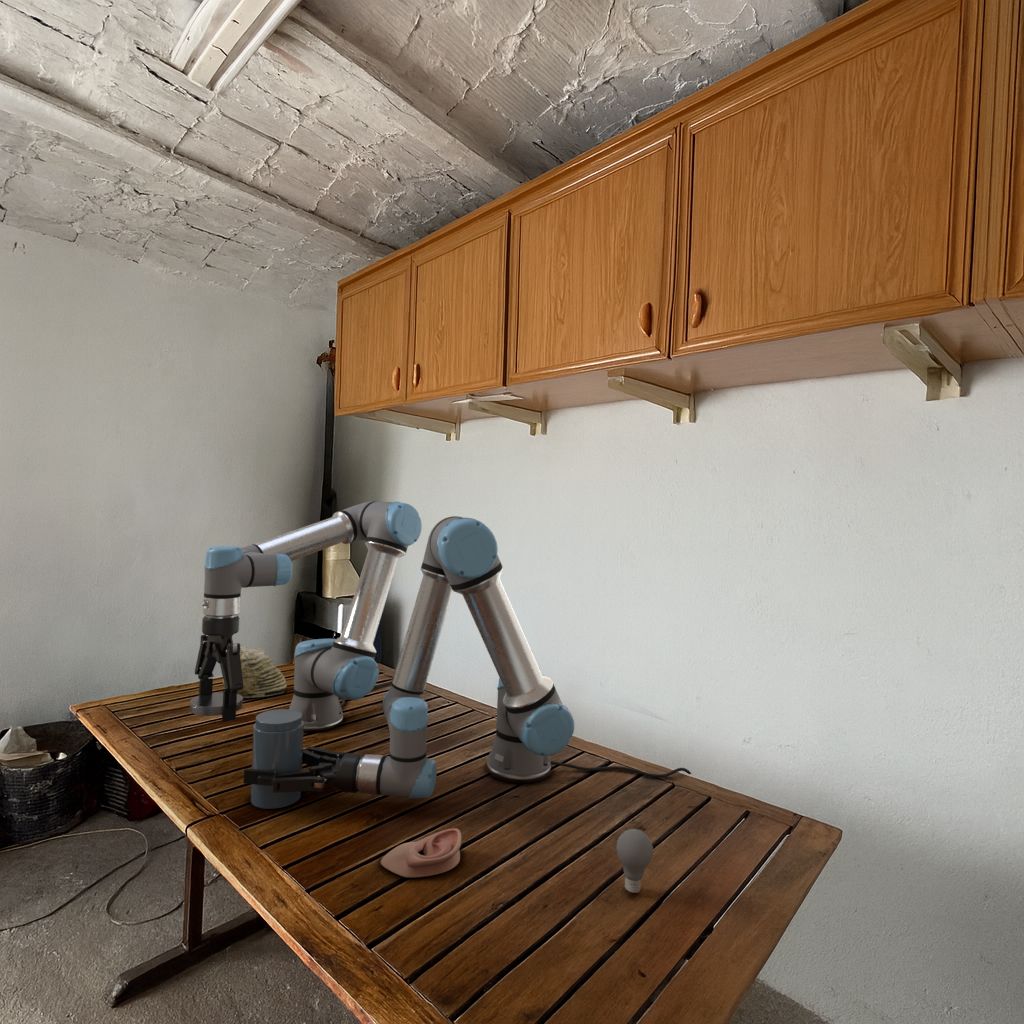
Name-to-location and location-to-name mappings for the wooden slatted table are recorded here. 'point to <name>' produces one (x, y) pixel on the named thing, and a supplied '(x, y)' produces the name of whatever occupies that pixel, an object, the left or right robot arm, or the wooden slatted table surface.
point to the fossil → (259, 674)
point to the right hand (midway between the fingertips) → (257, 765)
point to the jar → (276, 753)
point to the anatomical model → (425, 855)
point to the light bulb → (634, 857)
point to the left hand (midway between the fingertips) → (216, 714)
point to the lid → (211, 704)
